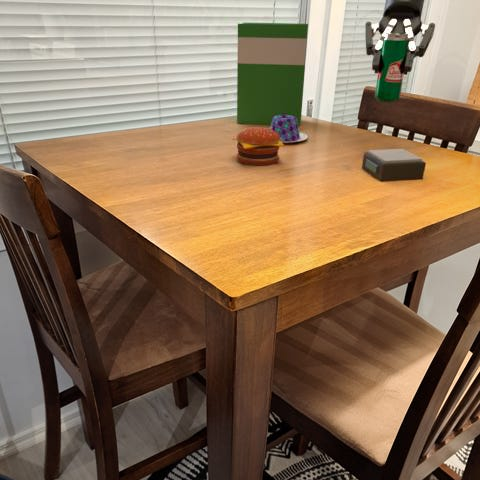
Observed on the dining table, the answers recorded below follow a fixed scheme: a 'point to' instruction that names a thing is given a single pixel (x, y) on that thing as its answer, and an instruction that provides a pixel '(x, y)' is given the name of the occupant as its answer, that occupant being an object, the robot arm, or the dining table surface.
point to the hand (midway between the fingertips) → (391, 70)
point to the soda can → (392, 67)
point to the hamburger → (258, 146)
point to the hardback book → (270, 71)
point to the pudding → (287, 129)
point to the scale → (393, 165)
